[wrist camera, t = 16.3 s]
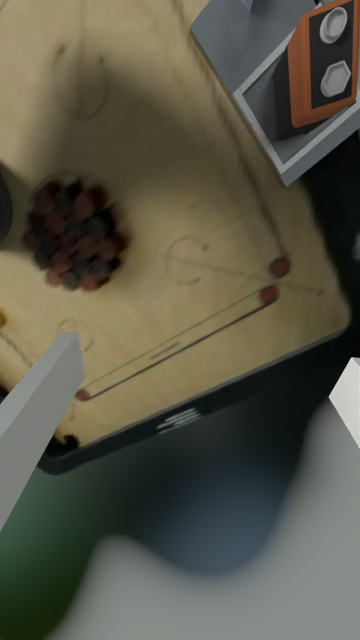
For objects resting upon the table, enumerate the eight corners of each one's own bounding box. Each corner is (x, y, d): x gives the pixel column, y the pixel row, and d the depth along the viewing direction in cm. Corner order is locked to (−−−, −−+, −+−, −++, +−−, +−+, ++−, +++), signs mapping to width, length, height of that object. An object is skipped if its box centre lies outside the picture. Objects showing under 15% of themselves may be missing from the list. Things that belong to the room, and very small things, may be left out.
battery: (276, 142, 29) (308, 114, 20) (271, 70, 27) (305, 2, 18) (314, 130, 29) (365, 96, 20) (312, 55, 26) (370, -24, 17)
